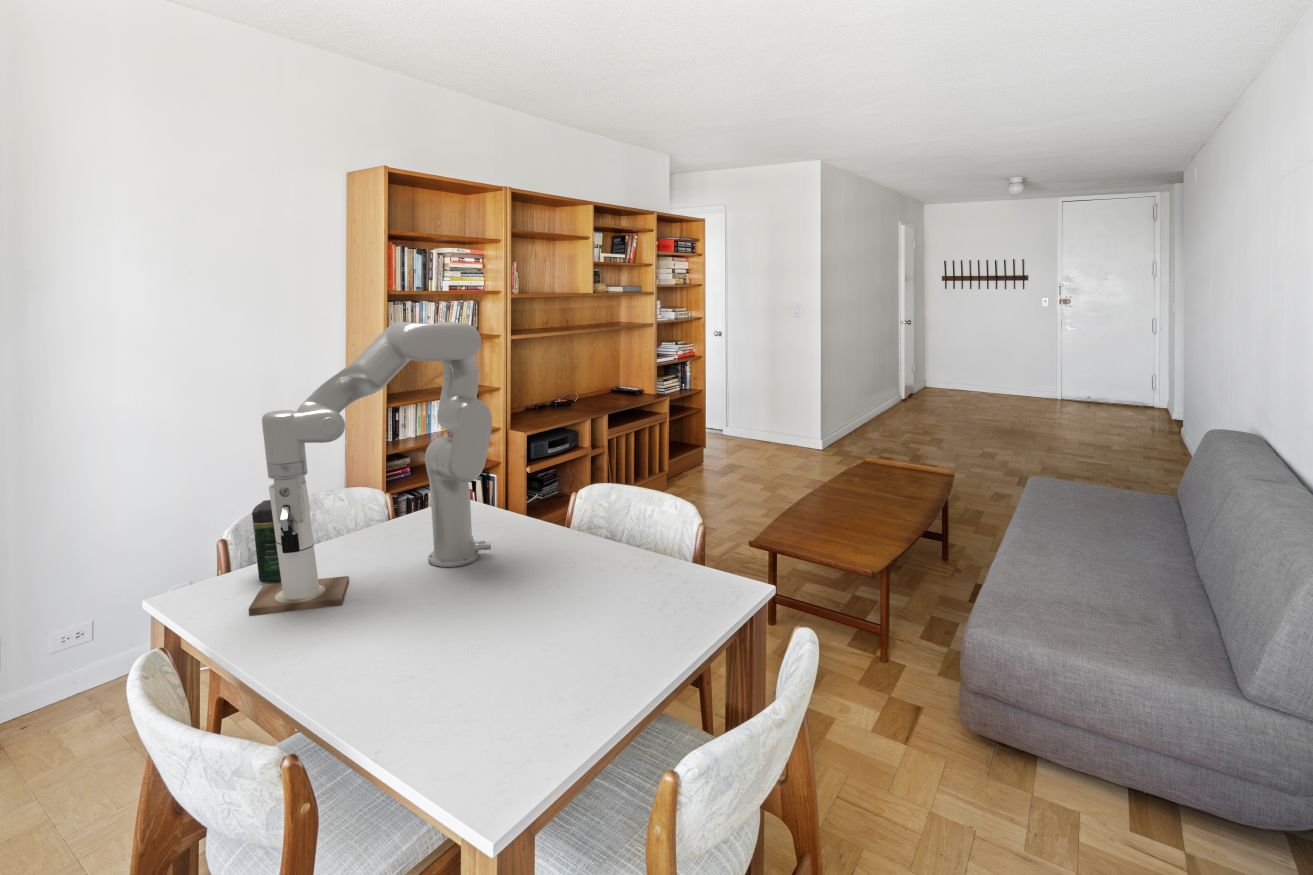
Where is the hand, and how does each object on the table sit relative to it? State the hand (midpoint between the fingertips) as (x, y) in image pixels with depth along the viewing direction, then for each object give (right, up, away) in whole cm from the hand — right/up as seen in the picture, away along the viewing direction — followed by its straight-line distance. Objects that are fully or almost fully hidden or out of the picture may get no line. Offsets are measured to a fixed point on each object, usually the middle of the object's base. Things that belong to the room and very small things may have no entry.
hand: (295, 544), depth 152 cm
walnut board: (0, -12, +3) cm, 13 cm away
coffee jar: (-12, -10, +15) cm, 22 cm away
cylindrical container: (0, -11, +2) cm, 12 cm away
